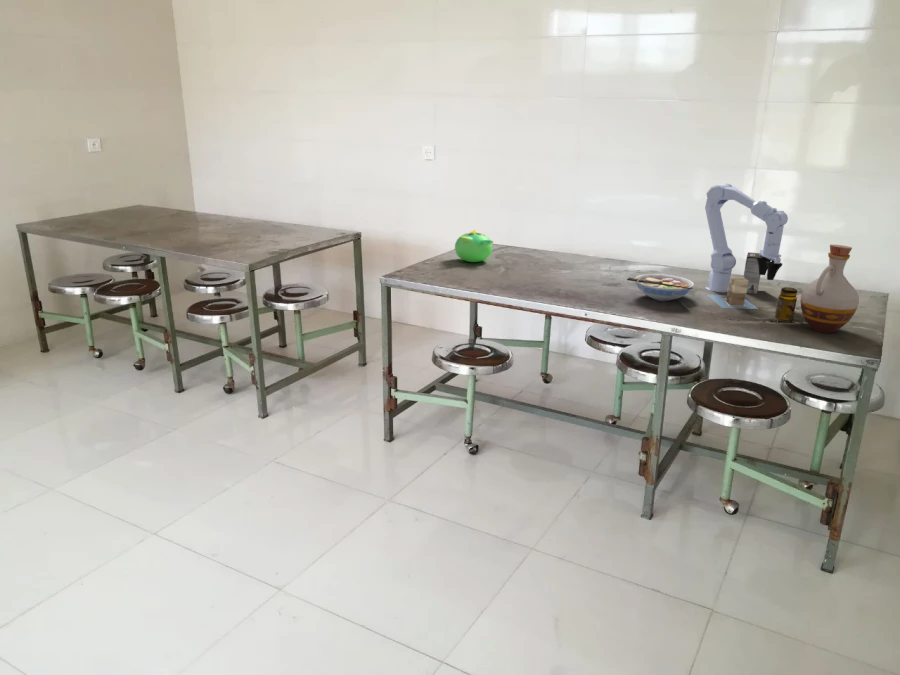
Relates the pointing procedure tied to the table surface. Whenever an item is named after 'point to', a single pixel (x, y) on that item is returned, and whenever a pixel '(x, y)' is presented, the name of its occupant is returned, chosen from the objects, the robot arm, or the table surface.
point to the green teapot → (473, 247)
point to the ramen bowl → (663, 286)
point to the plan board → (723, 304)
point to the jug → (830, 295)
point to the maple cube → (738, 285)
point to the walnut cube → (735, 298)
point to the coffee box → (752, 272)
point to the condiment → (786, 305)
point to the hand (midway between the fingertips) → (766, 277)
